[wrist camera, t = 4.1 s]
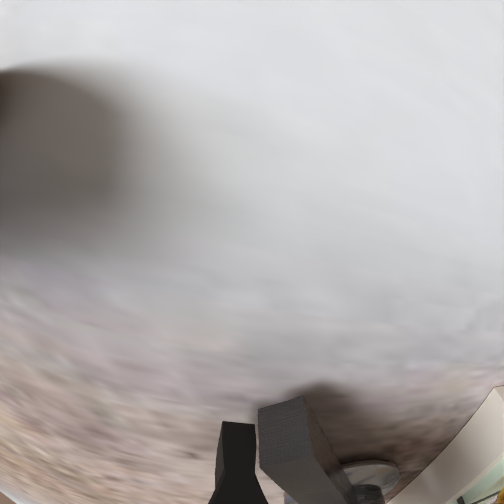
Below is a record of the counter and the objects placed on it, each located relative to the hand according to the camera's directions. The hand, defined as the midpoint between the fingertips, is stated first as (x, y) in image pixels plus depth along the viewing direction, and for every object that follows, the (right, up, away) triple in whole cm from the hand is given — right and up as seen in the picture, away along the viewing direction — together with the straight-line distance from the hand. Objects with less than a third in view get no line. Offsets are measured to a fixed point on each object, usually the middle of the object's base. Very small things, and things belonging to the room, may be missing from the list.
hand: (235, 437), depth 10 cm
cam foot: (+8, -3, +3) cm, 9 cm away
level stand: (+16, -10, +6) cm, 19 cm away
